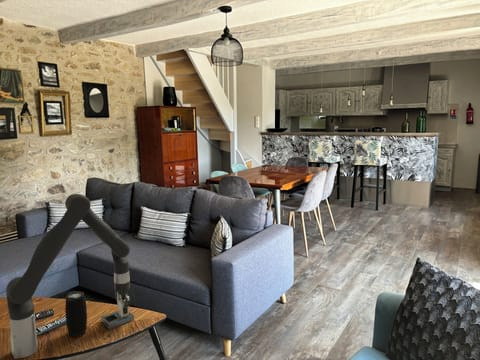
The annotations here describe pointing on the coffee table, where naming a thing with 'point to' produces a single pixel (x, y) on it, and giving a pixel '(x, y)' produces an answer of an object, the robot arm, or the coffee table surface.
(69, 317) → the portable speaker
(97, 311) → the coffee table surface
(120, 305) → the plug
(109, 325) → the panel
